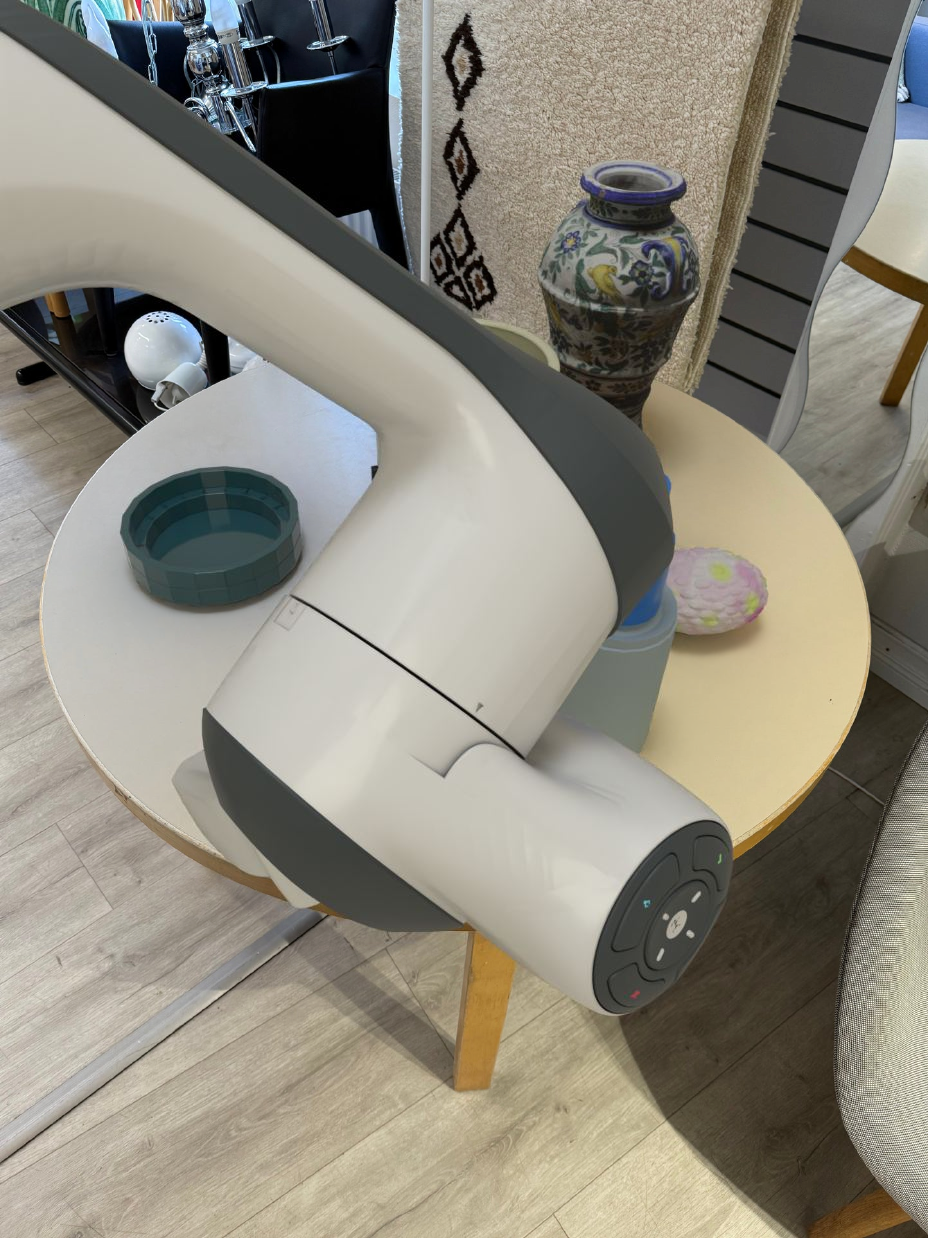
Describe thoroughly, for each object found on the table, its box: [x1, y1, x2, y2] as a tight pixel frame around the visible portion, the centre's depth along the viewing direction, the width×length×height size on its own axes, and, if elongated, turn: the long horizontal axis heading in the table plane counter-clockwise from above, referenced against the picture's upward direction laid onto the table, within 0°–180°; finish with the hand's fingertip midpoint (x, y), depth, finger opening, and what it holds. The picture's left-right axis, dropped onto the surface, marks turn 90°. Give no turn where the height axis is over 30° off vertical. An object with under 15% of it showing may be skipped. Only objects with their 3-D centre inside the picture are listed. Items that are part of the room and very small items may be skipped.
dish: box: [119, 465, 303, 607], centre depth 89 cm, size 17×17×5 cm
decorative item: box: [666, 546, 769, 636], centre depth 83 cm, size 9×11×10 cm
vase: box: [536, 159, 702, 432], centre depth 96 cm, size 17×17×30 cm
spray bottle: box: [557, 474, 677, 755], centre depth 67 cm, size 9×9×25 cm
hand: (314, 672), depth 53 cm, fingers open, 8 cm apart
